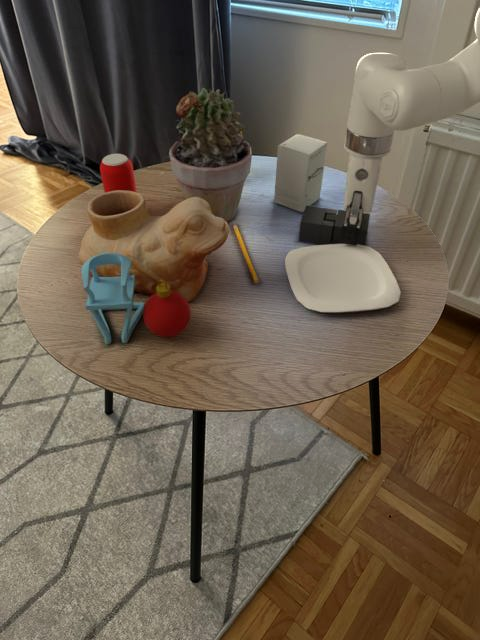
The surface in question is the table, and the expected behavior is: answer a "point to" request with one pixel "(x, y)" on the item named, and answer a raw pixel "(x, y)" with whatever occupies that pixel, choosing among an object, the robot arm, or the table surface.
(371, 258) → the plate
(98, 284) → the chair
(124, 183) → the beverage can
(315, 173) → the white packaging box
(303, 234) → the socket pad
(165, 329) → the christmas ornament
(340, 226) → the black rectangular block
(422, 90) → the robot arm
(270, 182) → the table surface
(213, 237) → the ceramic vessel
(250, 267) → the pencil
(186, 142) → the potted plant
